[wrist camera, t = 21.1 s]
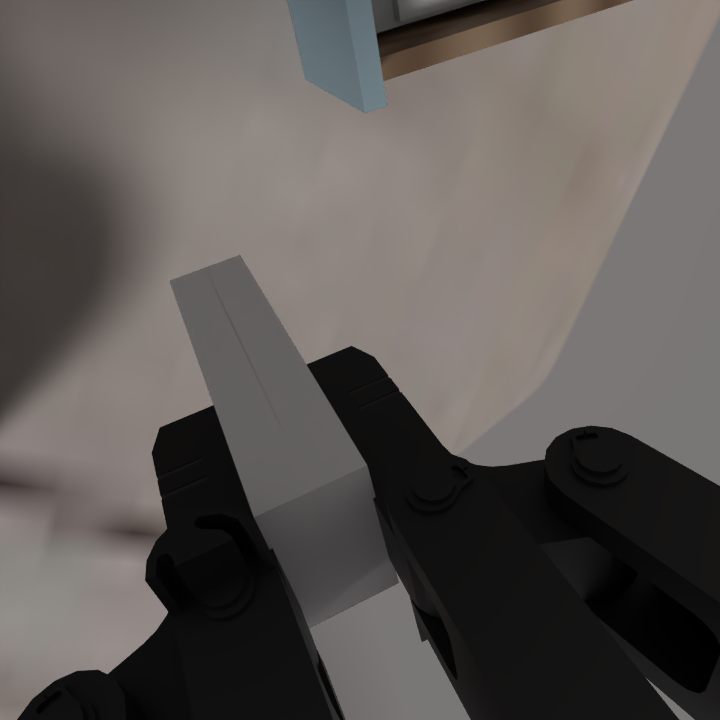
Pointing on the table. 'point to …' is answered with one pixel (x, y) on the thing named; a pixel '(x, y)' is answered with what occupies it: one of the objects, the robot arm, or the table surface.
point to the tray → (354, 42)
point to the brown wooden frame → (474, 30)
